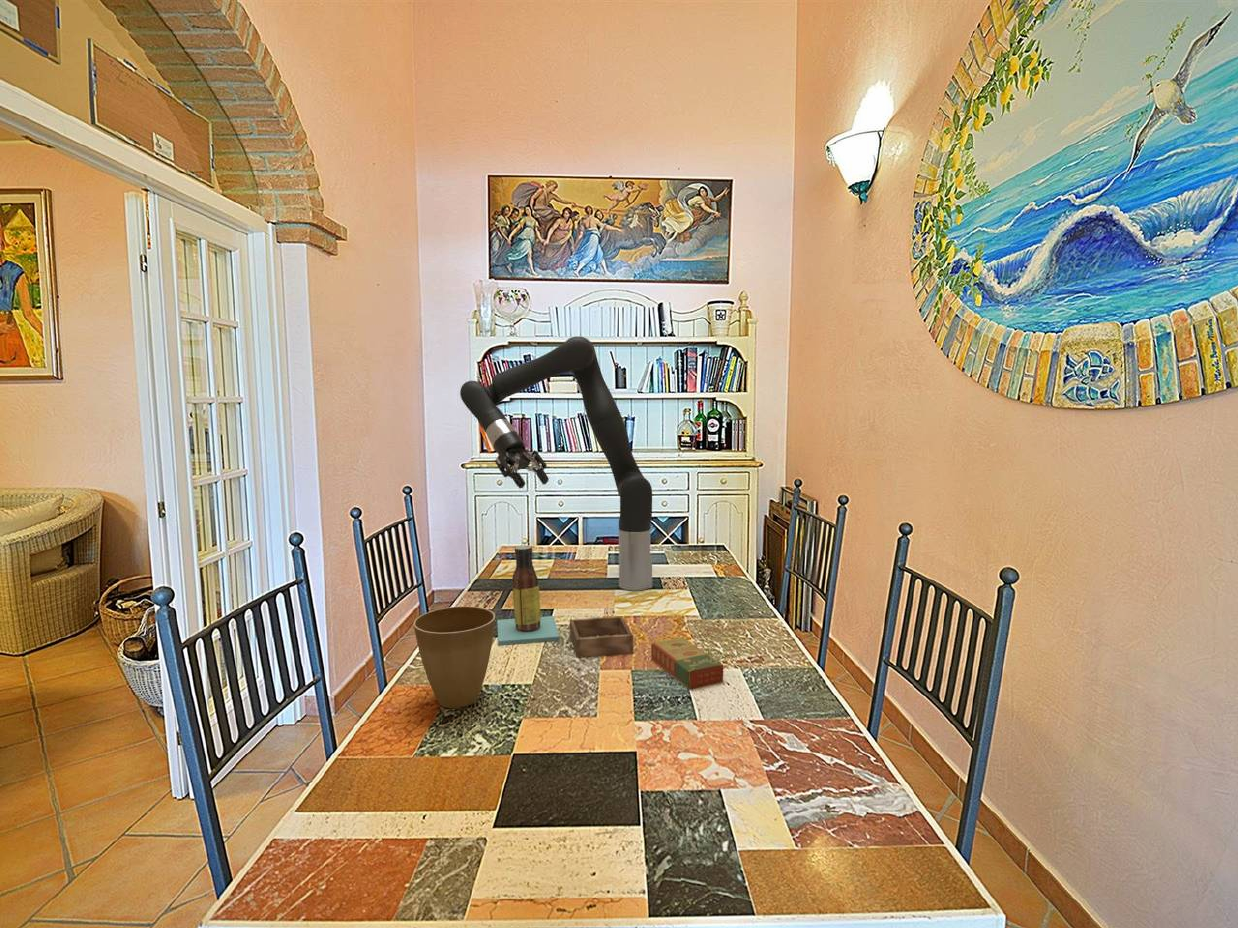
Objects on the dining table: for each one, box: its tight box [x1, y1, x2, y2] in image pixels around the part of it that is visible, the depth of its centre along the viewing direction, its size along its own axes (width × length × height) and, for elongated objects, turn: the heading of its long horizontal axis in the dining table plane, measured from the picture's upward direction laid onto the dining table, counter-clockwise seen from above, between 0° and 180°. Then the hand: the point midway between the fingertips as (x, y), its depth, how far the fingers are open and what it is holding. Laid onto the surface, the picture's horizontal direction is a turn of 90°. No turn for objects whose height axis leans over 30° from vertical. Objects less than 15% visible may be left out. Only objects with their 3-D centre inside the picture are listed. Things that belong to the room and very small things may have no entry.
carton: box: [650, 636, 724, 691], centre depth 140 cm, size 8×16×4 cm, turn 25°
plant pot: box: [412, 605, 496, 709], centre depth 127 cm, size 15×15×16 cm
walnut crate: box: [569, 615, 634, 658], centre depth 154 cm, size 13×13×4 cm
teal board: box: [497, 615, 560, 646], centre depth 162 cm, size 14×14×1 cm
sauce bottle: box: [512, 544, 542, 631], centre depth 160 cm, size 7×6×20 cm
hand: (534, 484), depth 179 cm, fingers open, 8 cm apart
